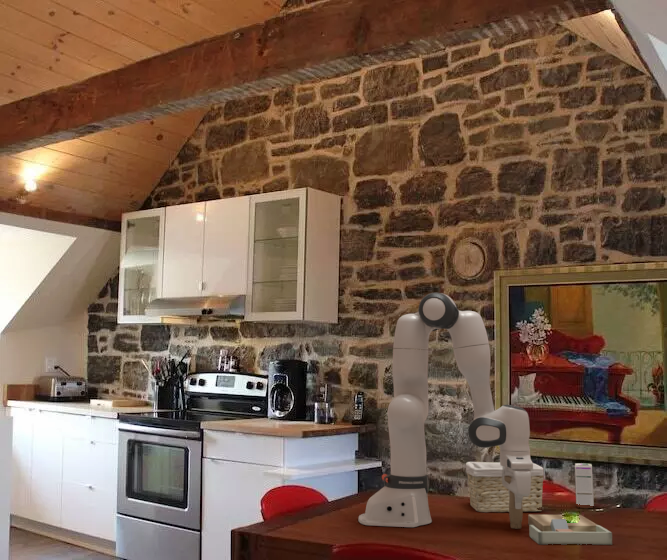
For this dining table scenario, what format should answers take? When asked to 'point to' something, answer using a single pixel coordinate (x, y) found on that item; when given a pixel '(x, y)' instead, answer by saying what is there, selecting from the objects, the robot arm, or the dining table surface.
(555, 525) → the tile
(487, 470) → the storage basket
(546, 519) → the square wooden board
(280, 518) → the dining table surface
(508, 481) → the handle
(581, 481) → the syrup box
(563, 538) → the tray
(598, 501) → the dining table surface
